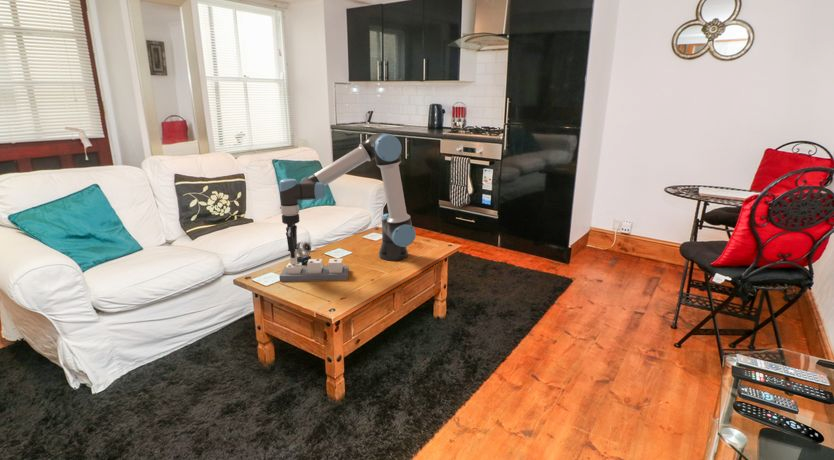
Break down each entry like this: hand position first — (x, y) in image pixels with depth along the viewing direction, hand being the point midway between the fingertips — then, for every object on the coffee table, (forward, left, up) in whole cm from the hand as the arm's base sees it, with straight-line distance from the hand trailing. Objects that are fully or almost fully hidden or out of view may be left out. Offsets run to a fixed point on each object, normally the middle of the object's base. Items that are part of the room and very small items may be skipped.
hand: (294, 263), depth 207 cm
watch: (-1, -18, -6) cm, 19 cm away
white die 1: (0, 0, -6) cm, 6 cm away
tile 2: (-9, 0, -4) cm, 10 cm away
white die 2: (-19, 0, -4) cm, 19 cm away
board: (-9, 0, -6) cm, 11 cm away
